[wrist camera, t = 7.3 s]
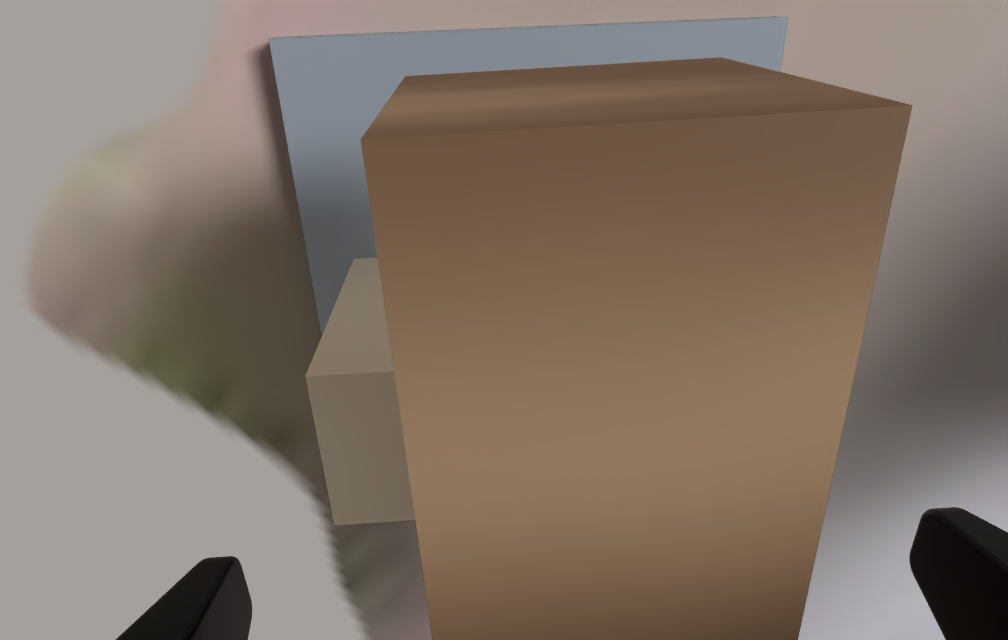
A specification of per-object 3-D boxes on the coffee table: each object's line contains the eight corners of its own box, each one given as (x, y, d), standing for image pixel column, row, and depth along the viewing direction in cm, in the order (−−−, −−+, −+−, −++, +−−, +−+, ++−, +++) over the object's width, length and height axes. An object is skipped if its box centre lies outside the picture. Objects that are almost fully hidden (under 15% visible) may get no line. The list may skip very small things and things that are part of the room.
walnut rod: (666, 678, 14) (737, 920, 10) (473, 694, 14) (476, 943, 10) (721, 57, 8) (912, 105, 5) (404, 75, 8) (360, 139, 5)
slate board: (771, 16, 14) (960, 30, 8) (710, 478, 19) (804, 662, 14) (279, 36, 13) (160, 65, 8) (358, 500, 19) (318, 697, 13)
